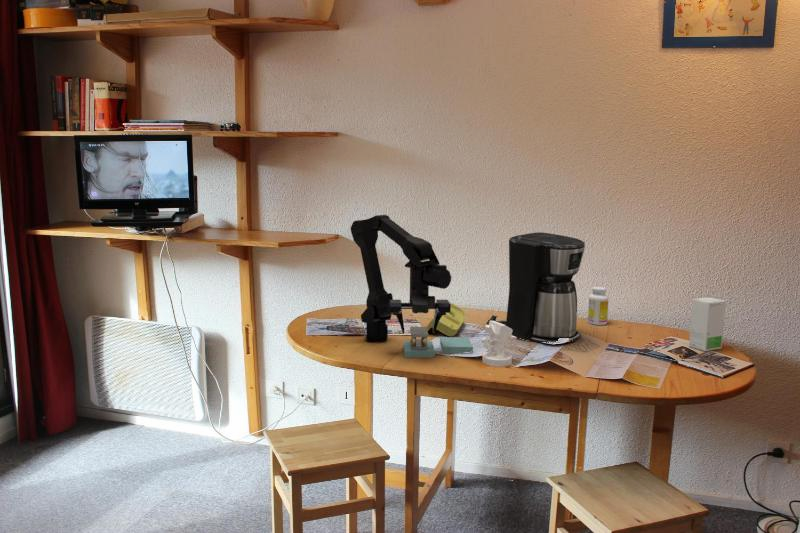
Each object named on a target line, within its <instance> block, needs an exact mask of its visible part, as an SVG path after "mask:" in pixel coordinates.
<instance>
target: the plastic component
mask: <svg viewBox="0 0 800 533" xmlns="http://www.w3.org/2000/svg"><path fill="white" fill-rule="evenodd" d="M449 303H450V305H451V312H449V313H446V315H443V316H442V317H441V318H440V320H439V322H438V325H437V328H436V331H439V332H440V333H442V334H444V335H445V336H447V337H450V338H453V337H455V336H456V334H457V333H458V331H459V329H460V328H461V327H462V325H463V323H464V322H465V320H466V317H467V314H466V312H465V311H464V309H462V308H461V307H460V306H457V305H456V304H454V303H452V302H450V301H449ZM433 322H434V318H433V319H431V321H429V323H428V324H427V326H425V327H426V328H427V332H429V330H430V329H433Z"/></svg>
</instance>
